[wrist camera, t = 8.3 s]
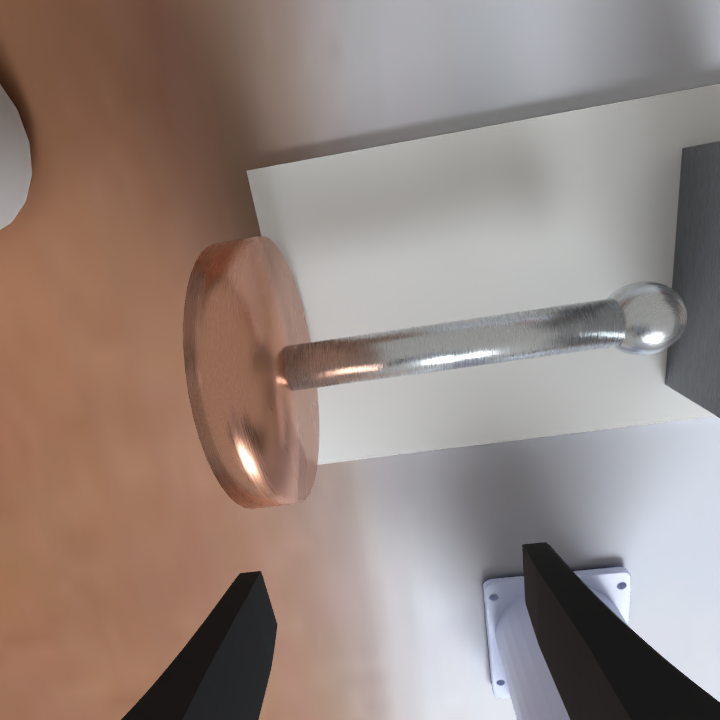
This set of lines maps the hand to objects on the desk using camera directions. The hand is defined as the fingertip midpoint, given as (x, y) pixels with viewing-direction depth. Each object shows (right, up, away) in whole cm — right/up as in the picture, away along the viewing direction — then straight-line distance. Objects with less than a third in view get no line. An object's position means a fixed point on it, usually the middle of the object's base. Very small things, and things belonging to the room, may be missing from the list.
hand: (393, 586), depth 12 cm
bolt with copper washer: (+2, +8, +7) cm, 11 cm away
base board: (+8, +9, +7) cm, 15 cm away
